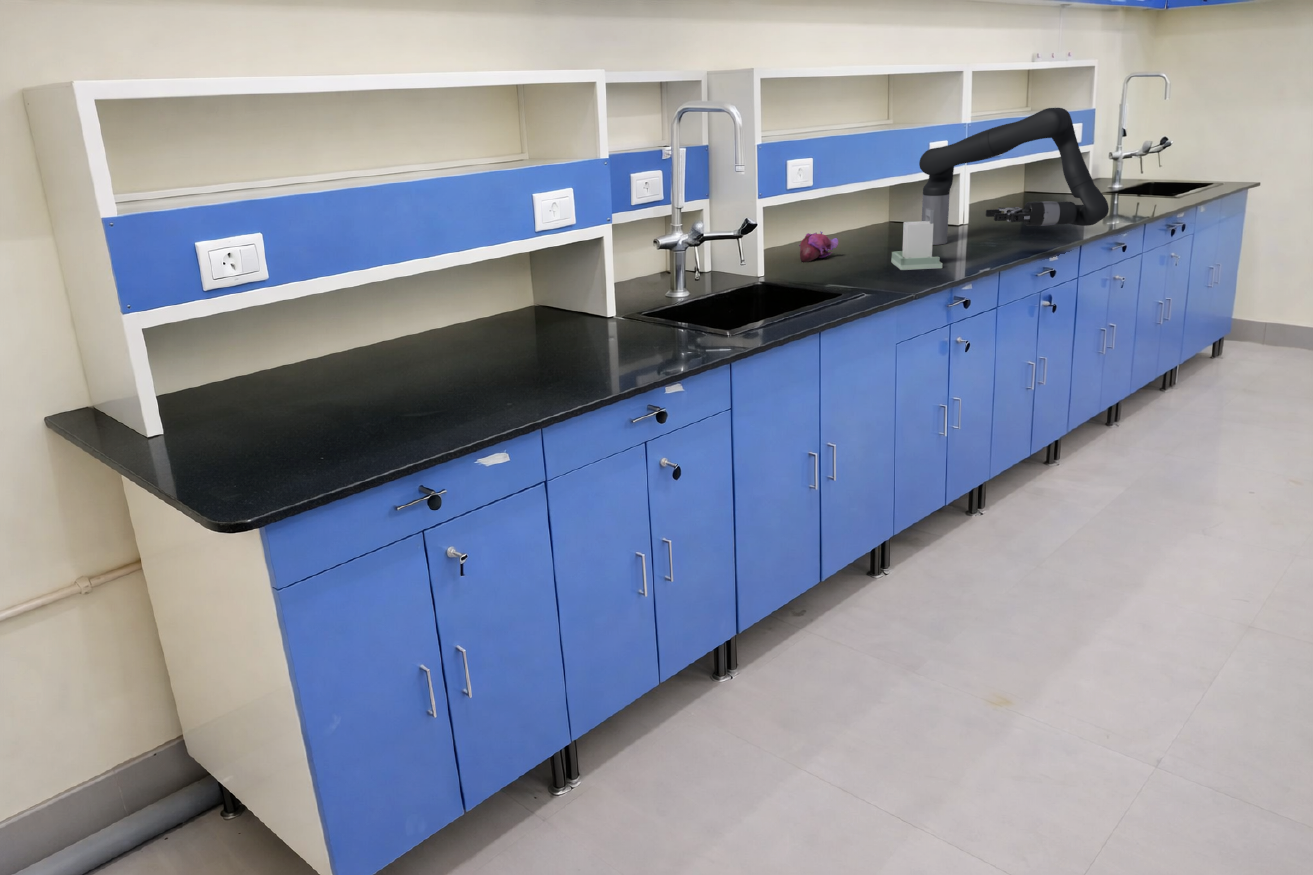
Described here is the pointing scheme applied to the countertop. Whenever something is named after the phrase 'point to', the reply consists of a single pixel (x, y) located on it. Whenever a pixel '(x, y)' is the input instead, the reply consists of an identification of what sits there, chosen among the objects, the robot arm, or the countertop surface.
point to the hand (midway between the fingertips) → (990, 215)
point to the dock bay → (915, 262)
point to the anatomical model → (816, 246)
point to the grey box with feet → (918, 237)
